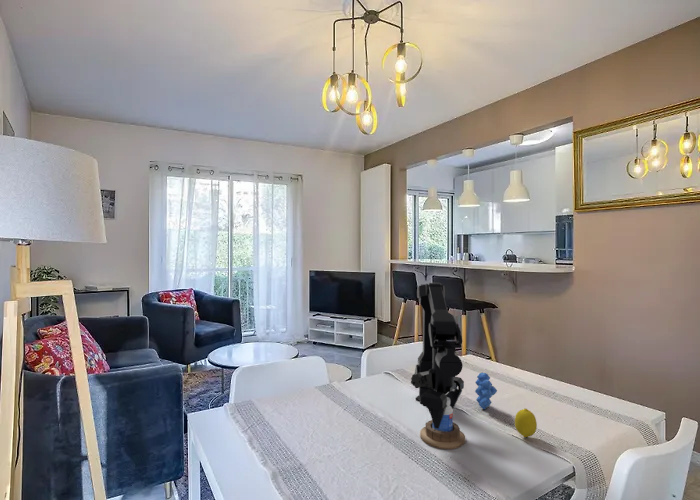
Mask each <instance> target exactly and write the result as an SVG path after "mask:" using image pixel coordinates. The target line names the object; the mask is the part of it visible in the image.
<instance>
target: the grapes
mask: <svg viewBox="0 0 700 500" xmlns="http://www.w3.org/2000/svg"><path fill="white" fill-rule="evenodd" d="M490 379H491V377H490V376H489V374H488V373H486V372H480V373H479V374H478V375H477V379H476V381H475V384H476V386H477V388H476V389H475V391H474V392H475V394H476V395H477V398H476V402H477V403H478V406H479V407H480V408H481V409H482V408H483V410H486V409H487V408H489V407H490V405H491V404H492V400H491V398H492V397H493V396H494V395H495V394H497V392H498V390H497V388H496V387H495V386H493V383H492V382H491V380H490Z"/></svg>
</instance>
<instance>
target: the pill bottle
mask: <svg viewBox="0 0 700 500" xmlns="http://www.w3.org/2000/svg"><path fill="white" fill-rule="evenodd" d="M446 405H447V407H446V410H445V413H444V416H443V418H442V421H441V424H440V426H439V428H438V429H437V428H435V427H434V424H433V429H434V430H436V431H440V432H450V431H453V422H454V411H453V410H454V409H452V407H451V406H449V405H450V398H448V397H447V403H446Z"/></svg>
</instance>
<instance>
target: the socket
mask: <svg viewBox="0 0 700 500" xmlns="http://www.w3.org/2000/svg"><path fill="white" fill-rule="evenodd" d="M419 433H420V434H419V437H420V438H419V439H421V441H422V442H423V443H425V444H426V445H427V446H430V447H433V448H436V449H439V450H440V449H441V450H453V449H454V450H455V449H458V448H462V447H463V446H464V445H465V444H466V435H465V433H464V432H463V431H462V430H461V428H460V426H459V424H457V423H456V422H454V421H453V431H450V432H440V431H436V430H434V429H433V421H432V419H430V420H428V421H427V422H426V423H425V426H424V427H422V428H421V429H420V432H419Z"/></svg>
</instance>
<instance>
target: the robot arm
mask: <svg viewBox="0 0 700 500" xmlns="http://www.w3.org/2000/svg"><path fill="white" fill-rule="evenodd" d="M416 288H417V289H416V297H417V299H418V303H419V304H420V306H421V308H422V310H423V313H422V315H423V316H422V350H421V353H420V355H419V356H418V358H417V364H416V365H415V369H414V373H413V374H412V375H411V378H410V380H411V381H410V384H411V385H412V386H413V387H414V388H415V389H418V395H417V396H416V397H415V398H414V399H415V400H416V401H419V404H420V405H422V406H423V407H426V409H428V411H429V414H430V418H431V420H432V421H433V424H434V427H435V428H437V429H438V428H439V426H440V424H441V421H442V418H443V416H444V413H445V410H446V407H447V405H446V403H447V397H448V398H450V405H449V406H451V407H452V409H453V410H454V409H455V407H456V405H457V402H458V400H459V398H460V396H461V394H462V392H463V389H465V387H464V386H465V381H464V380H463V379H462V378H461V377H459V376H458V375H460V373H461V372H462V370H463V362H462V360H461V358H460V356H459V355H458V354H457V353H456V352H457V351H456V349H461V348H462V344H463V336H462V331H461V328H460V327H459V323H457V321H456V318H455V316H454V315H453V314H451V313H450V312H449V311H448V308H447V304H446V303H447V302H446V299H445V298H446V297H445V296H446V293H445V292H446V289H445V285H443V283H441V282H428V283H425V284H420V285H418V286H417V287H416Z"/></svg>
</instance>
